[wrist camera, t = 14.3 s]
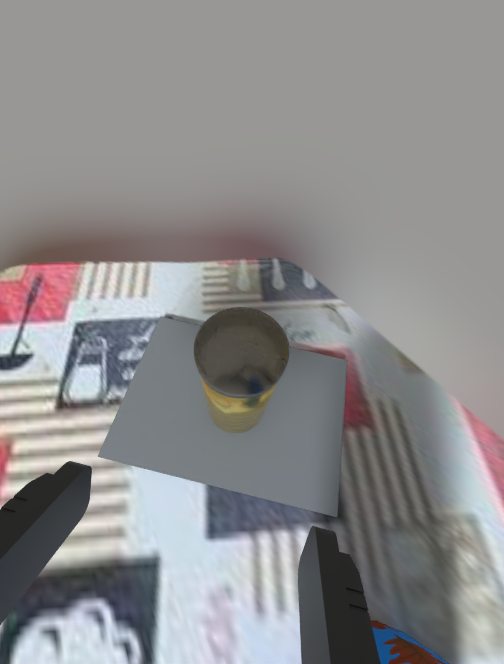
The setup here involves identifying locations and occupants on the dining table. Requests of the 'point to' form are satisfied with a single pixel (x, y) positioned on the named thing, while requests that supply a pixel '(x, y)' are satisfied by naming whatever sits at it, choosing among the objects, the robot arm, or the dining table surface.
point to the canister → (240, 365)
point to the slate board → (234, 448)
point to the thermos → (401, 647)
